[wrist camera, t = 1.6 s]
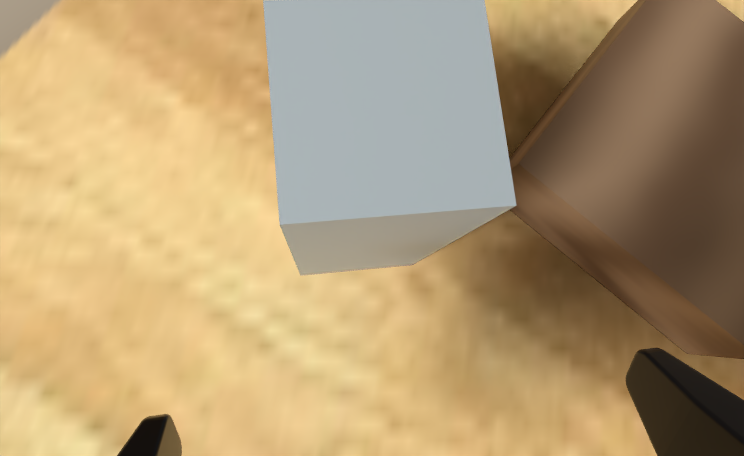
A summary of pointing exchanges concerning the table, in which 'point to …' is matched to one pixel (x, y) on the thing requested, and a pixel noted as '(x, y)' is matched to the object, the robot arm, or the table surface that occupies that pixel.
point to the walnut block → (651, 171)
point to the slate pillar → (383, 129)
